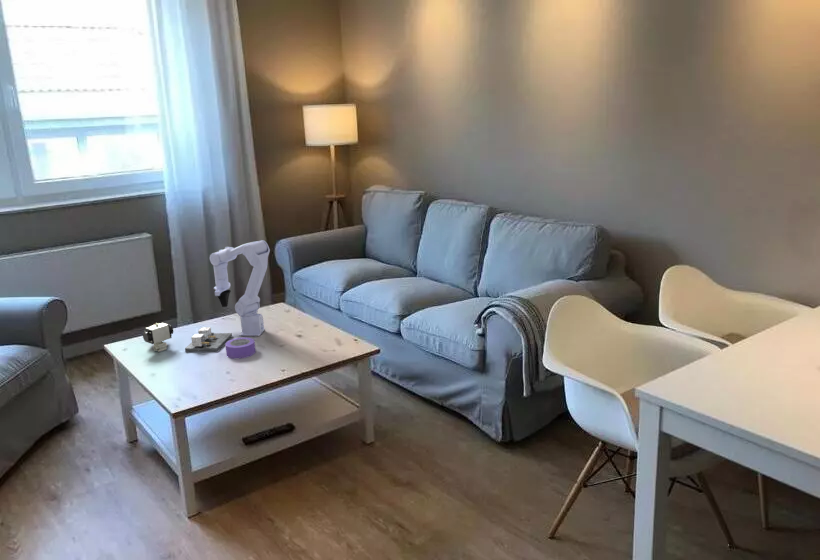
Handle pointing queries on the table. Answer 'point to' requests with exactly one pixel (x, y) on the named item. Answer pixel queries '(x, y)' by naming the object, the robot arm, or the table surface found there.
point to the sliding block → (206, 332)
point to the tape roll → (240, 347)
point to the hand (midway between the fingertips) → (224, 306)
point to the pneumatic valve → (158, 335)
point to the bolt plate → (207, 342)
